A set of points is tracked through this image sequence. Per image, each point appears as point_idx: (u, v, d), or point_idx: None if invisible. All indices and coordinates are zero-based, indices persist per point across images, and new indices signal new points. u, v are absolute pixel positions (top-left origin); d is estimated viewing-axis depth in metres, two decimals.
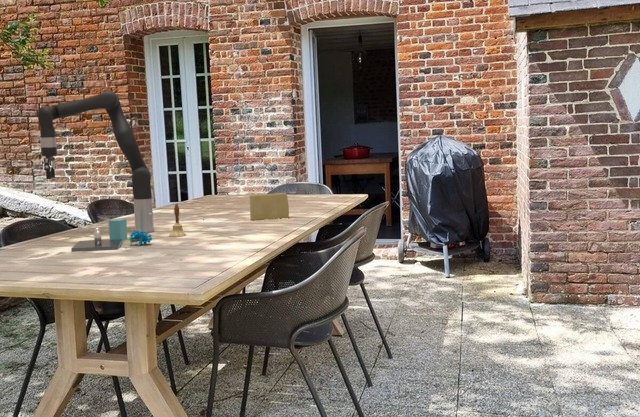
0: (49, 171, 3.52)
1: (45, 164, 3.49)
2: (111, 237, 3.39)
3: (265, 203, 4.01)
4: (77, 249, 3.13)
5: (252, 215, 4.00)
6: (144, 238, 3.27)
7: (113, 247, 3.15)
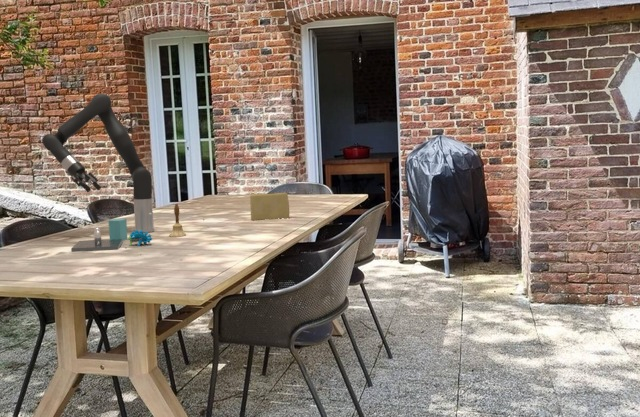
0: (83, 184, 3.37)
1: (75, 181, 3.36)
2: (111, 237, 3.39)
3: (265, 203, 4.01)
4: (77, 249, 3.13)
5: (253, 215, 4.00)
6: (144, 238, 3.26)
7: (113, 247, 3.15)
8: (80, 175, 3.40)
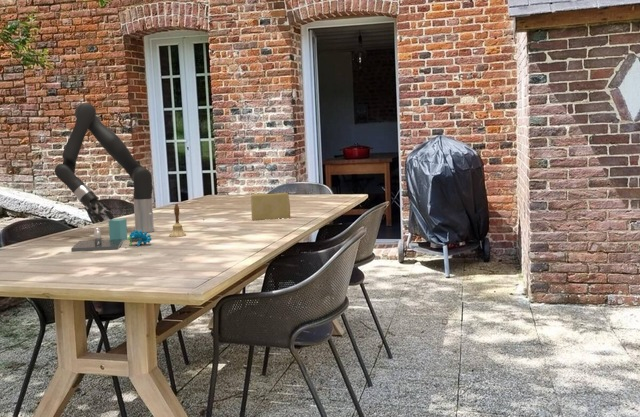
0: (97, 214, 3.37)
1: (88, 211, 3.36)
2: (111, 237, 3.39)
3: (266, 203, 4.01)
4: (77, 249, 3.13)
5: (253, 215, 4.00)
6: (143, 238, 3.26)
7: (113, 247, 3.15)
8: (93, 205, 3.40)
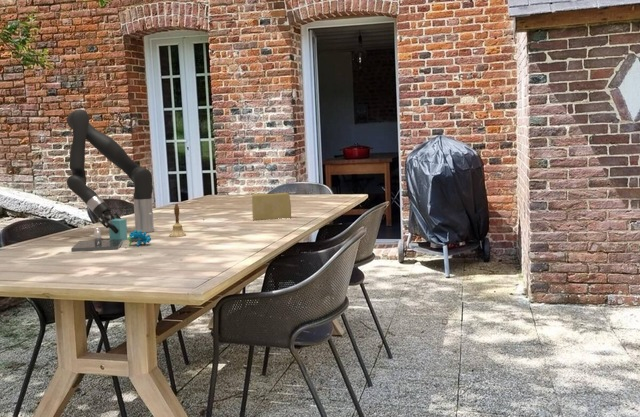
0: (112, 226, 3.37)
1: (103, 223, 3.36)
2: (111, 237, 3.39)
3: (267, 203, 4.01)
4: (77, 249, 3.13)
5: (254, 215, 4.00)
6: (143, 238, 3.26)
7: (113, 247, 3.15)
8: (106, 216, 3.39)
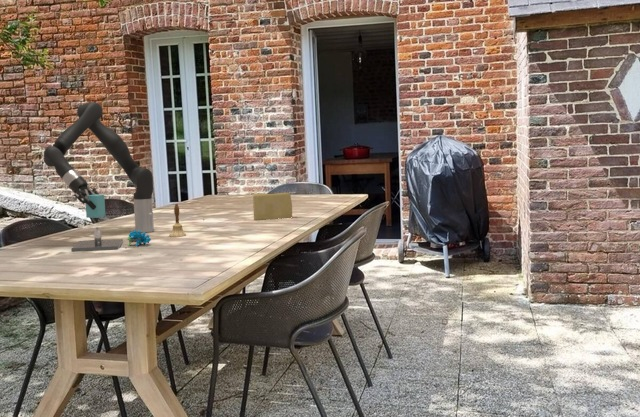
0: (89, 201, 3.18)
1: (79, 198, 3.16)
2: (88, 213, 3.20)
3: (268, 203, 4.01)
4: (77, 249, 3.13)
5: (255, 215, 4.00)
6: (142, 238, 3.25)
7: (113, 247, 3.15)
8: (82, 191, 3.20)
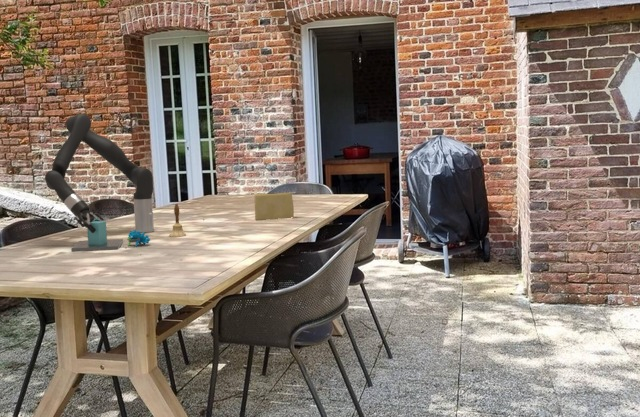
0: (88, 225, 3.18)
1: (79, 221, 3.17)
2: (90, 240, 3.21)
3: (270, 202, 4.01)
4: (77, 249, 3.13)
5: (257, 215, 4.00)
6: (142, 239, 3.25)
7: (113, 247, 3.15)
8: (84, 215, 3.21)
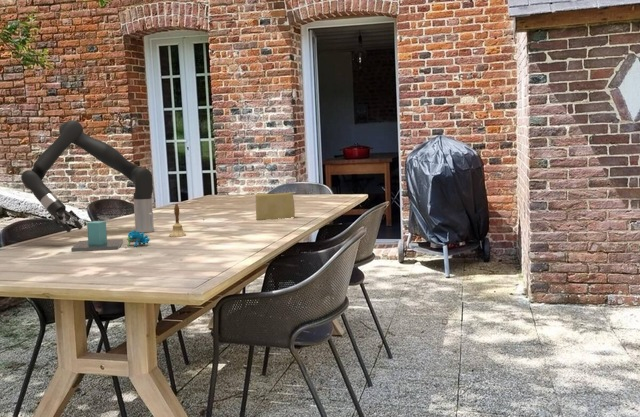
0: (64, 224, 3.21)
1: (54, 221, 3.21)
2: (90, 240, 3.21)
3: (271, 202, 4.01)
4: (77, 249, 3.13)
5: (258, 215, 4.00)
6: (141, 239, 3.25)
7: (113, 247, 3.15)
8: (60, 214, 3.24)
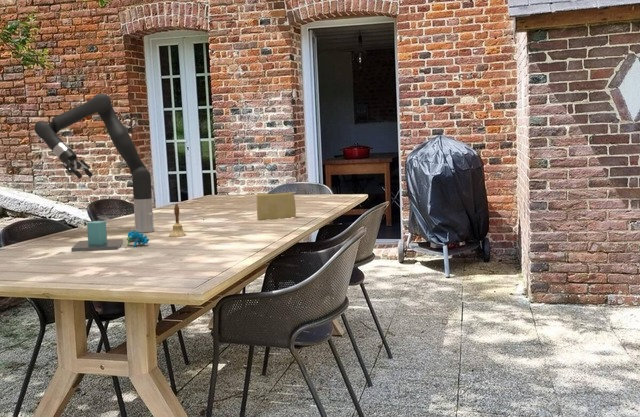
0: (75, 171, 3.39)
1: (66, 167, 3.38)
2: (90, 240, 3.21)
3: (272, 202, 4.01)
4: (77, 249, 3.13)
5: (259, 215, 4.00)
6: (141, 239, 3.24)
7: (113, 247, 3.15)
8: (72, 162, 3.42)
